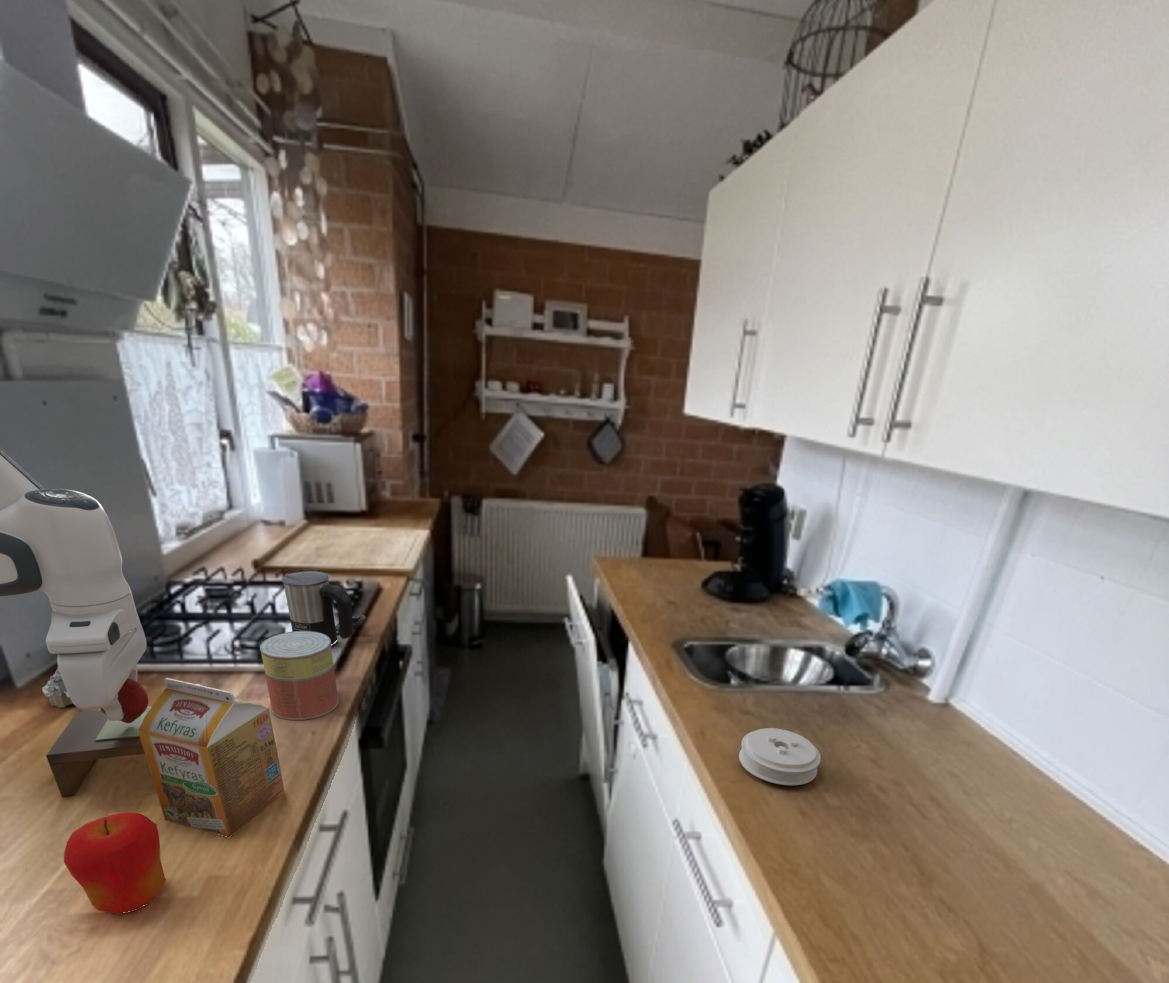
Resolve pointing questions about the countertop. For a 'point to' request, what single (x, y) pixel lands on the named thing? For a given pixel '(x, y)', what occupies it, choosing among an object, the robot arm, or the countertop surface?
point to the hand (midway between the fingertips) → (124, 705)
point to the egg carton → (57, 691)
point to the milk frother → (319, 605)
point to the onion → (132, 700)
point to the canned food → (300, 674)
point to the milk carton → (210, 757)
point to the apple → (117, 861)
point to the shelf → (91, 746)
